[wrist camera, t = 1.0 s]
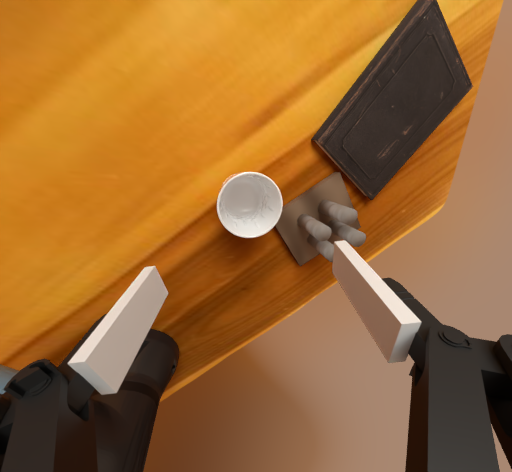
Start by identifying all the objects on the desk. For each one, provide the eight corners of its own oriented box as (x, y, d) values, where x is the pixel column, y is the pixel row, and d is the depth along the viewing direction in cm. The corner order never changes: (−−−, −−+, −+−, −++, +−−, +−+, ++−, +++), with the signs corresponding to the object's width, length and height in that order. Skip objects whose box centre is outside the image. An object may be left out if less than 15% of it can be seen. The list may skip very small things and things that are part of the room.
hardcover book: (456, 91, 33) (473, 86, 30) (363, 198, 37) (372, 200, 34) (414, 1, 27) (431, -13, 25) (309, 140, 31) (315, 138, 29)
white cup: (265, 170, 31) (286, 173, 21) (262, 217, 33) (279, 237, 24) (216, 167, 29) (216, 170, 20) (217, 217, 32) (217, 238, 23)
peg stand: (297, 262, 38) (317, 287, 31) (268, 216, 34) (284, 232, 26) (355, 224, 38) (391, 240, 30) (334, 172, 33) (371, 174, 25)
